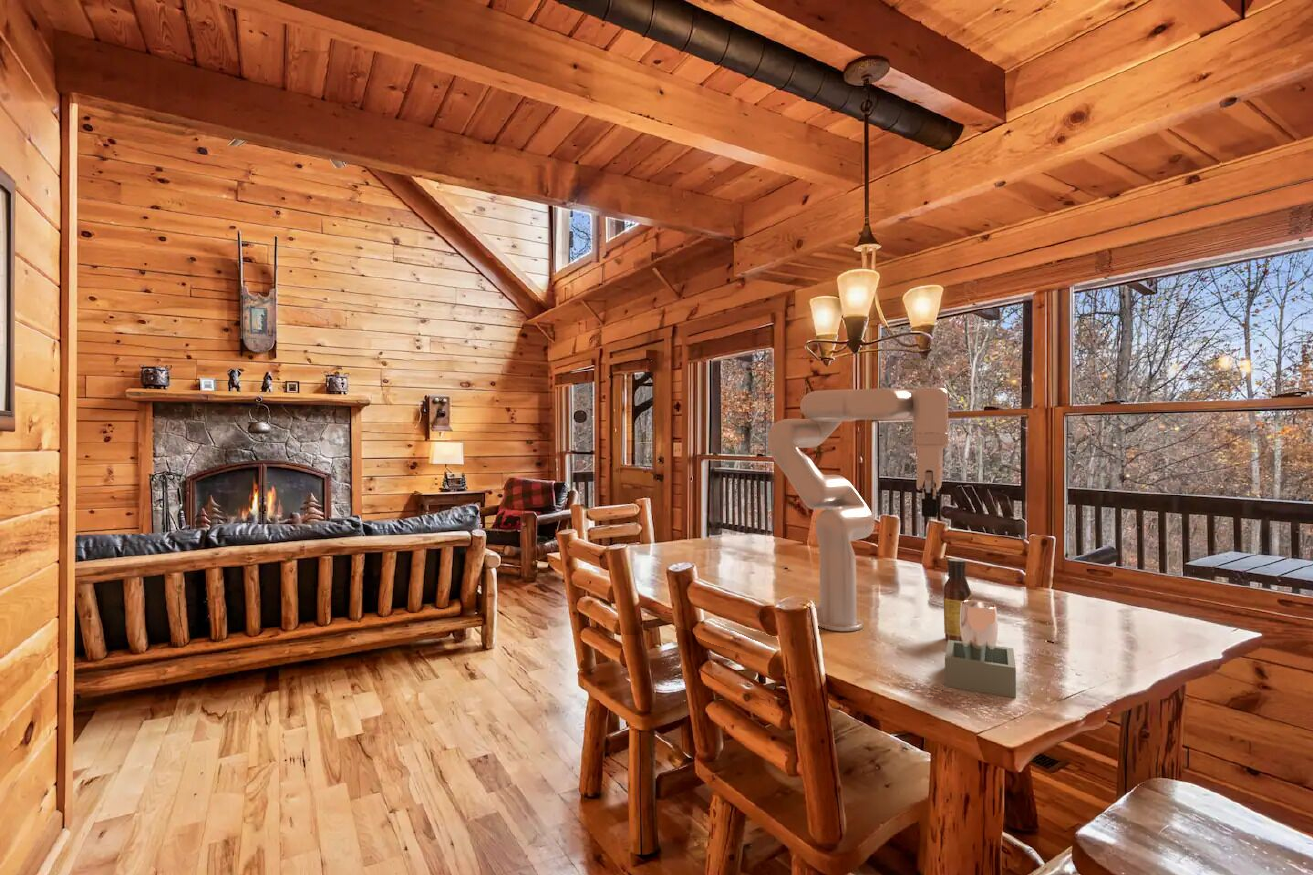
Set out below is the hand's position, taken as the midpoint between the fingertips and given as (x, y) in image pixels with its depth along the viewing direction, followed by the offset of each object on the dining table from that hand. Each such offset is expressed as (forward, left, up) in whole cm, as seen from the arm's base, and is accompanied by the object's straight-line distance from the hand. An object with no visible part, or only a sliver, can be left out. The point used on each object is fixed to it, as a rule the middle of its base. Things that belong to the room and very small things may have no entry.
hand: (931, 514), depth 145 cm
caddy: (+10, -14, -32) cm, 37 cm away
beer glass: (+10, -14, -32) cm, 36 cm away
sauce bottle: (+5, +12, -32) cm, 35 cm away
